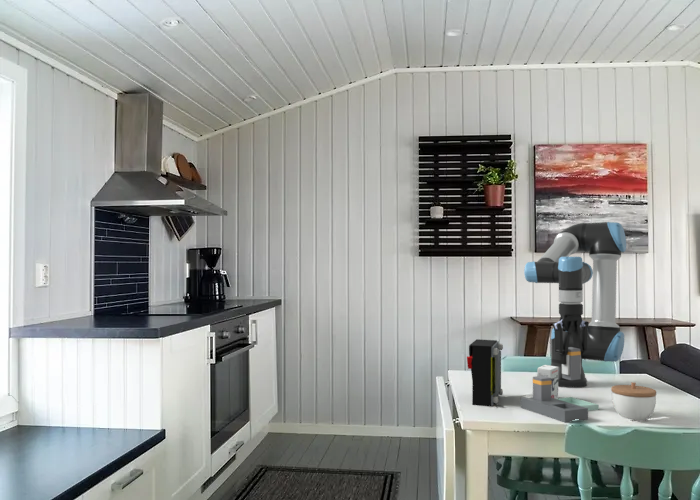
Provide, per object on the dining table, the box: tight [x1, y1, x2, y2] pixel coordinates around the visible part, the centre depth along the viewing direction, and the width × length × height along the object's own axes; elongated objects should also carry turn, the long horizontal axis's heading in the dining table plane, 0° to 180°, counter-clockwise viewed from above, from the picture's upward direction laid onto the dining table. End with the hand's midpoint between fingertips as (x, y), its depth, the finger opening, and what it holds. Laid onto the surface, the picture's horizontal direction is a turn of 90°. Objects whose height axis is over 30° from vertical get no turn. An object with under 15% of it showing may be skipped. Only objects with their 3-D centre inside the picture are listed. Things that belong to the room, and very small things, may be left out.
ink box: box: [536, 364, 559, 399], centre depth 209 cm, size 8×5×12 cm, turn 144°
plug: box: [562, 347, 581, 380], centre depth 198 cm, size 4×4×10 cm
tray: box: [557, 396, 600, 412], centre depth 197 cm, size 12×12×2 cm
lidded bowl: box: [610, 381, 657, 422], centre depth 185 cm, size 13×13×11 cm
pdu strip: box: [520, 375, 589, 424], centre depth 188 cm, size 20×9×11 cm, turn 23°
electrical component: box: [466, 338, 504, 408], centre depth 208 cm, size 18×10×20 cm, turn 160°
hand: (571, 373), depth 198 cm, fingers closed on plug, 4 cm apart
